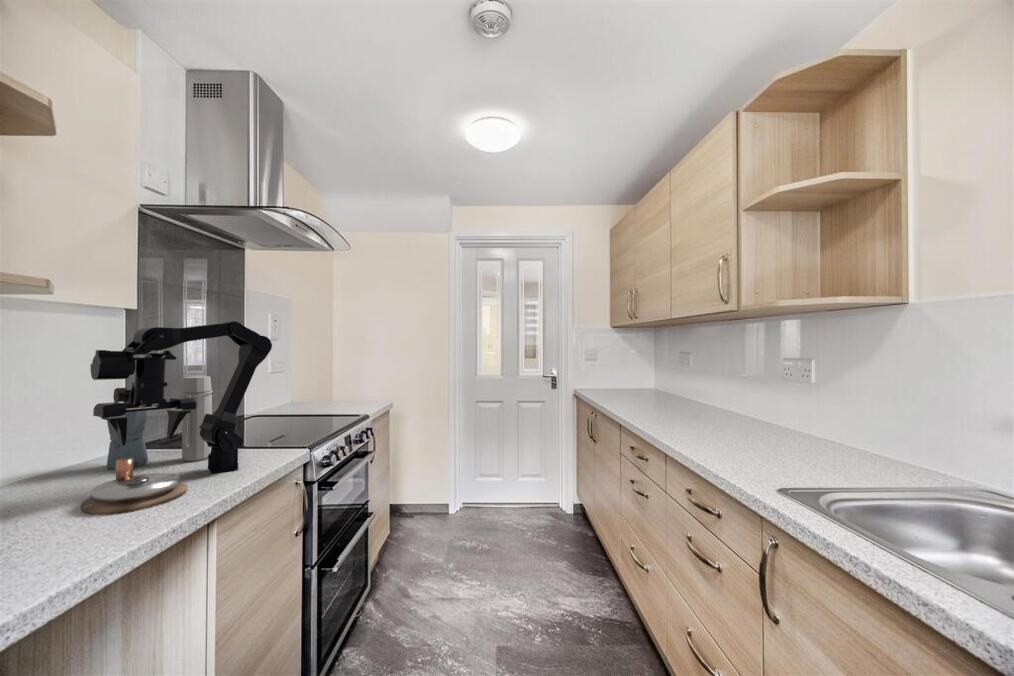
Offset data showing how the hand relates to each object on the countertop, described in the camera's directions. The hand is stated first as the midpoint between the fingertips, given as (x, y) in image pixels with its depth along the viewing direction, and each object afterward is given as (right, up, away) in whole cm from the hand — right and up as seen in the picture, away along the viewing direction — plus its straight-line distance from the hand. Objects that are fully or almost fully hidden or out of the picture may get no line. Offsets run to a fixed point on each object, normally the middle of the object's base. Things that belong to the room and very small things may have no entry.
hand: (146, 442), depth 102 cm
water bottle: (-6, -12, +24) cm, 28 cm away
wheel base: (+4, -11, -7) cm, 14 cm away
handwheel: (+4, -10, -7) cm, 13 cm away
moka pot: (-22, -12, +19) cm, 31 cm away
